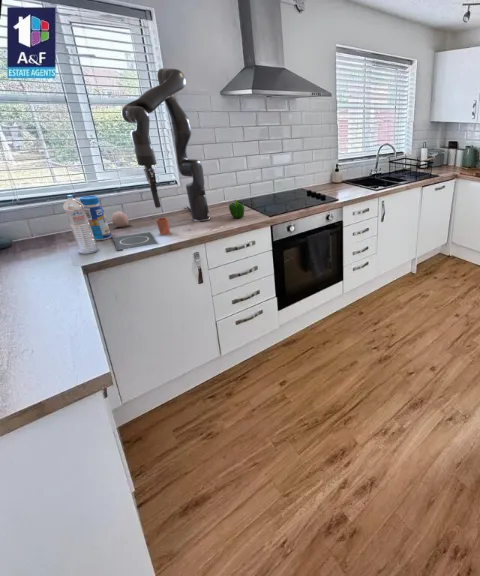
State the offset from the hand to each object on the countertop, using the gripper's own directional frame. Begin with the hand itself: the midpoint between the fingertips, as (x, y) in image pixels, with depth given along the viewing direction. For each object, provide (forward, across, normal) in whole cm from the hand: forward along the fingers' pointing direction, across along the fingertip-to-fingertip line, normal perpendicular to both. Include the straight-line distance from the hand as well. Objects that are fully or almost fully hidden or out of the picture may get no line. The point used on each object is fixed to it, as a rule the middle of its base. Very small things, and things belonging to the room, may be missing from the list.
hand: (154, 191), depth 178 cm
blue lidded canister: (+22, +10, +26) cm, 35 cm away
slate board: (+22, -4, +14) cm, 26 cm away
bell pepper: (+18, +11, -41) cm, 46 cm away
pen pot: (+22, 0, 0) cm, 22 cm away
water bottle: (+22, -8, +32) cm, 39 cm away
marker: (+8, 0, 0) cm, 8 cm away
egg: (+22, +25, +16) cm, 37 cm away
